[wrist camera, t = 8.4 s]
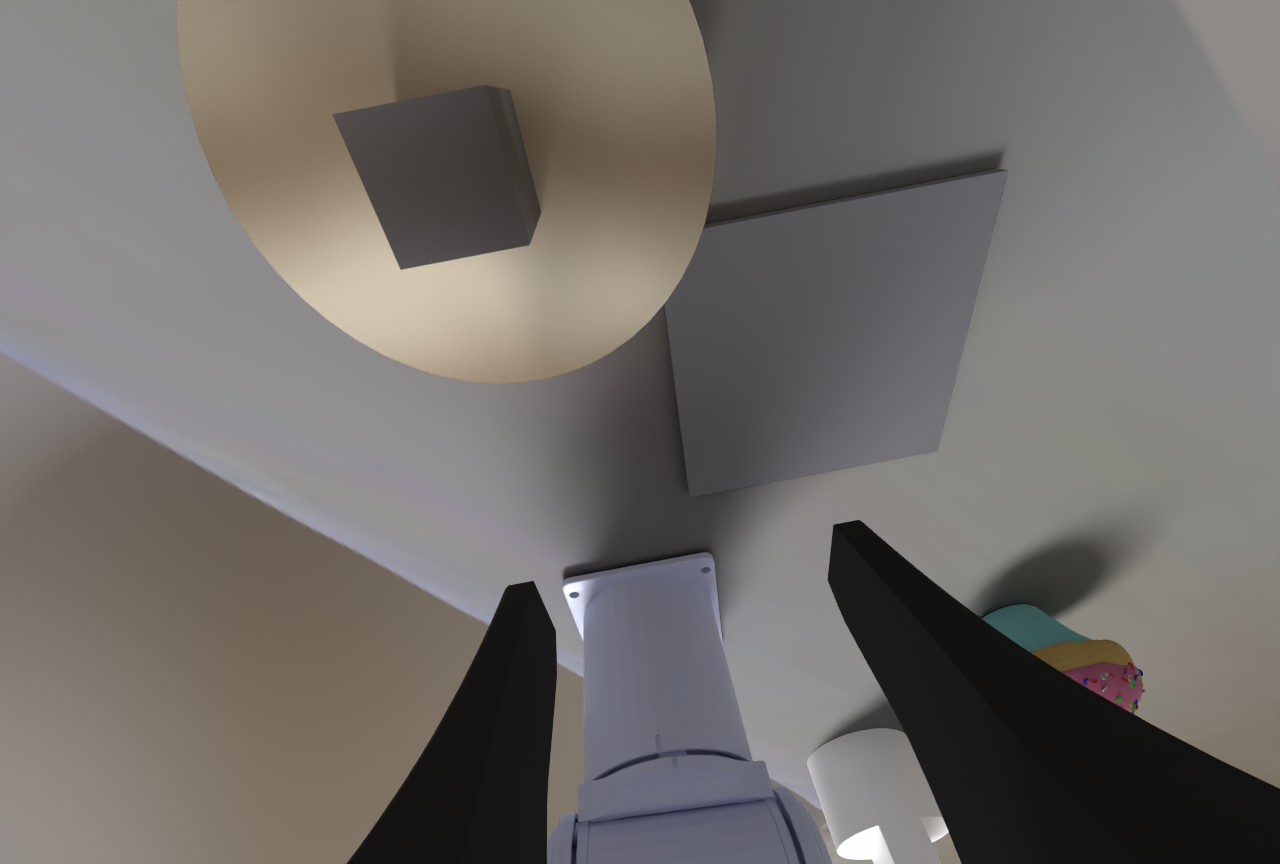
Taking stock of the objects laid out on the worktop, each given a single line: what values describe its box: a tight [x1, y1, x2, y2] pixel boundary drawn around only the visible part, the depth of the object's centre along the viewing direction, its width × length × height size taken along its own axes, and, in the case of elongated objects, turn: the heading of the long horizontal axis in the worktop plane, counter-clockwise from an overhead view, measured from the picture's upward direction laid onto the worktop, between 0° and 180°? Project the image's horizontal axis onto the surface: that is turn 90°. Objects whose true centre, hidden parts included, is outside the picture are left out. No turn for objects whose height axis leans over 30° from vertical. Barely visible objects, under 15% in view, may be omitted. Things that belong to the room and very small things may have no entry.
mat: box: [664, 169, 1008, 498], centre depth 19 cm, size 12×12×1 cm
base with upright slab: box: [807, 728, 949, 864], centre depth 37 cm, size 9×9×12 cm
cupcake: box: [981, 604, 1145, 714], centre depth 27 cm, size 9×8×12 cm
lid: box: [177, 0, 716, 383], centre depth 10 cm, size 11×11×4 cm
